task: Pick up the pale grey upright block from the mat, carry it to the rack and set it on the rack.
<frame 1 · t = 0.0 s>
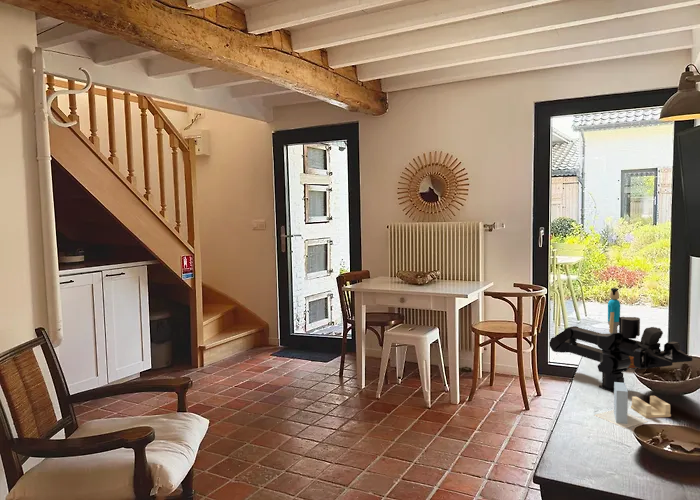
hand: (682, 361, 167), 17 cm above the table, tool horizontal, fingers open, 9 cm apart
rack: (650, 413, 170), on the table
pale grey upright block: (620, 418, 166), resting on mat
figurine: (615, 359, 226), on the table
tin: (626, 368, 215), on the table
mat: (620, 419, 166), on the table
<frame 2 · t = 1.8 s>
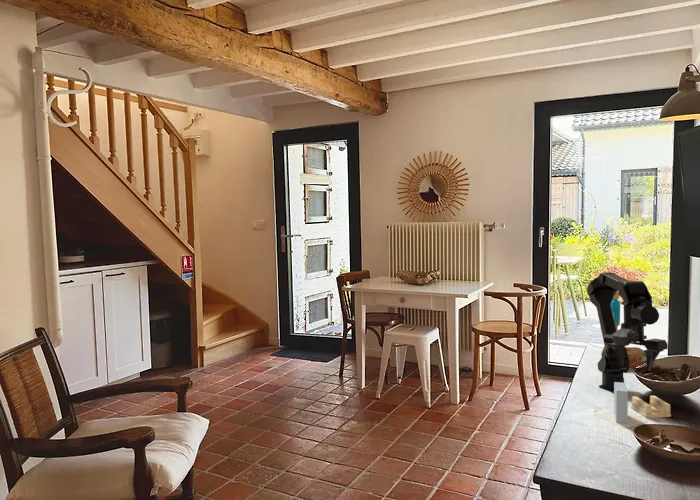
hand: (634, 367, 175), 12 cm above the table, tool pointing down, fingers open, 9 cm apart
nothing on the table moved.
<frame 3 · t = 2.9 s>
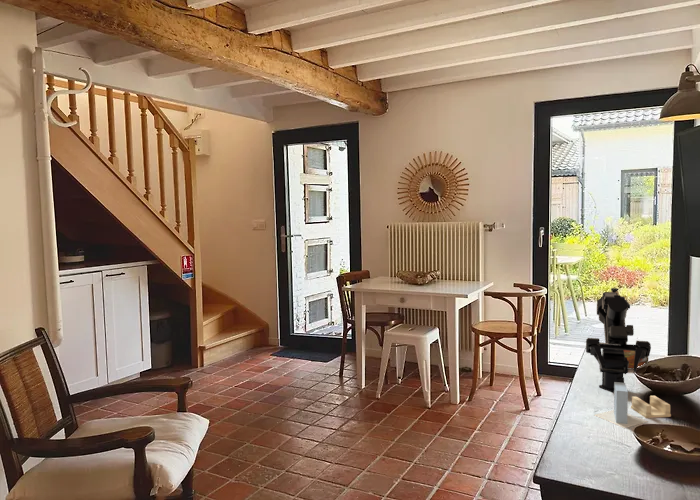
hand: (618, 370, 171), 13 cm above the table, tool tilted 45°, fingers open, 9 cm apart
nothing on the table moved.
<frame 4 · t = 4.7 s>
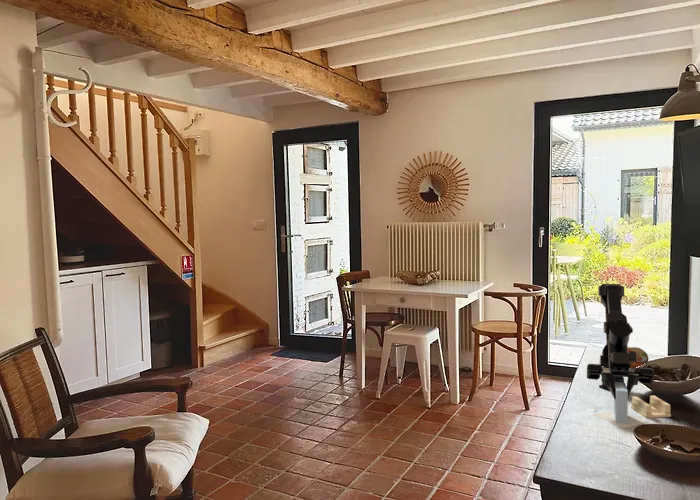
hand: (621, 399, 164), 7 cm above the table, tool tilted 45°, fingers closed on pale grey upright block, 3 cm apart
pale grey upright block: (620, 418, 166), resting on mat, touching gripper
everything else where it was.
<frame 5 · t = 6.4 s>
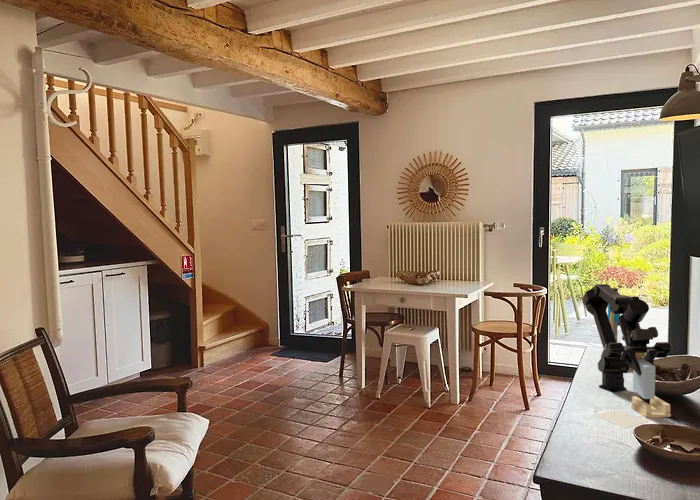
hand: (646, 374, 166), 13 cm above the table, tool tilted 45°, fingers closed on pale grey upright block, 3 cm apart
pale grey upright block: (643, 393, 168), point 7 cm above the table, touching gripper
everything else where it was.
when the fingers open (9 cm above the table, at t = 8.0 s): pale grey upright block drops 1 cm, resting on rack.
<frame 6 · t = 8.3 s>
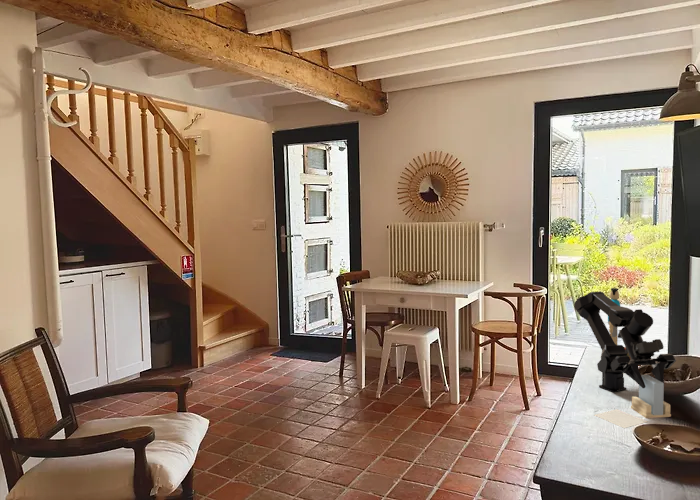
hand: (653, 387, 168), 9 cm above the table, tool tilted 45°, fingers open, 6 cm apart
pale grey upright block: (650, 410, 170), point 1 cm above the table, touching rack
everything else where it was.
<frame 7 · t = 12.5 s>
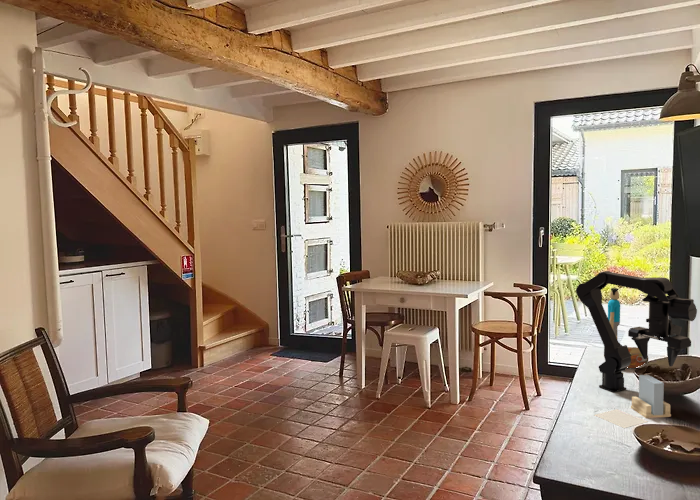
hand: (657, 362, 178), 13 cm above the table, tool pointing down, fingers open, 9 cm apart
nothing on the table moved.
at the end: pale grey upright block inside the target area on the rack (0.0 cm from its centre), point 1.0 cm above the rack's base; pale grey upright block tilted 0°; the gripper is holding nothing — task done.
